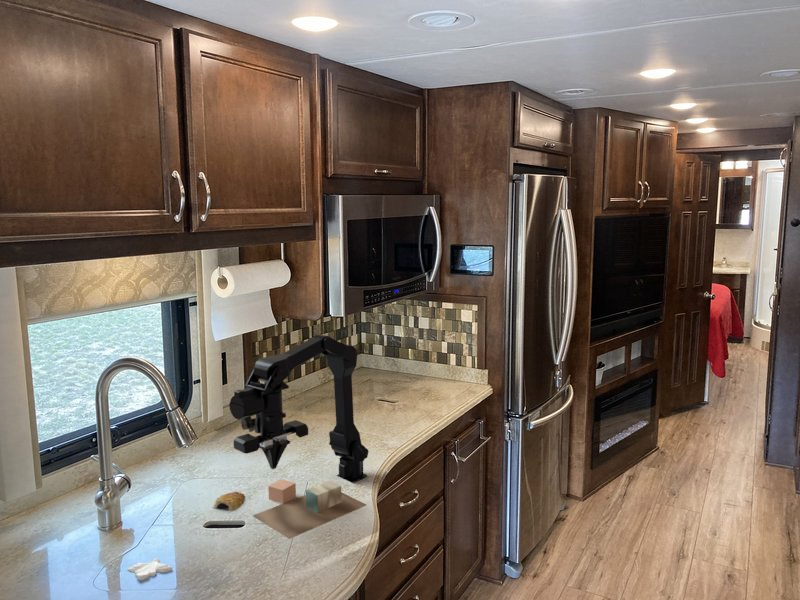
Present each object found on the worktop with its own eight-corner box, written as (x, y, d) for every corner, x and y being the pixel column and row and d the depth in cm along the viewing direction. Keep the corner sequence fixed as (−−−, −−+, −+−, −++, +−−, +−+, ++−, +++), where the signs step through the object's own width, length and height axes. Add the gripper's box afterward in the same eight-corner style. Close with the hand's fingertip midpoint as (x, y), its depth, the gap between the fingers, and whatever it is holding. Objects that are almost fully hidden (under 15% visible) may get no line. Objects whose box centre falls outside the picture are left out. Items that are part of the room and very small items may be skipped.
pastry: (228, 497, 174) (228, 484, 173) (251, 500, 172) (251, 487, 171) (210, 513, 165) (210, 499, 164) (234, 516, 163) (234, 502, 162)
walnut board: (328, 490, 177) (328, 486, 177) (367, 509, 166) (366, 504, 165) (252, 520, 160) (252, 515, 160) (289, 543, 149) (289, 538, 149)
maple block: (306, 506, 165) (330, 496, 170) (316, 512, 161) (341, 502, 167) (305, 490, 164) (330, 480, 170) (316, 495, 161) (341, 485, 166)
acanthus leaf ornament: (172, 573, 139) (172, 564, 138) (141, 586, 134) (140, 578, 134) (157, 559, 144) (156, 551, 144) (126, 572, 139) (126, 564, 139)
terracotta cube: (281, 496, 174) (281, 479, 173) (296, 500, 171) (295, 483, 170) (269, 503, 169) (268, 485, 169) (283, 508, 167) (282, 490, 166)
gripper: (284, 394, 172) (286, 450, 174) (220, 410, 159) (223, 470, 161) (308, 403, 164) (310, 461, 166) (244, 420, 151) (247, 483, 153)
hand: (273, 468), depth 162 cm, fingers closed
